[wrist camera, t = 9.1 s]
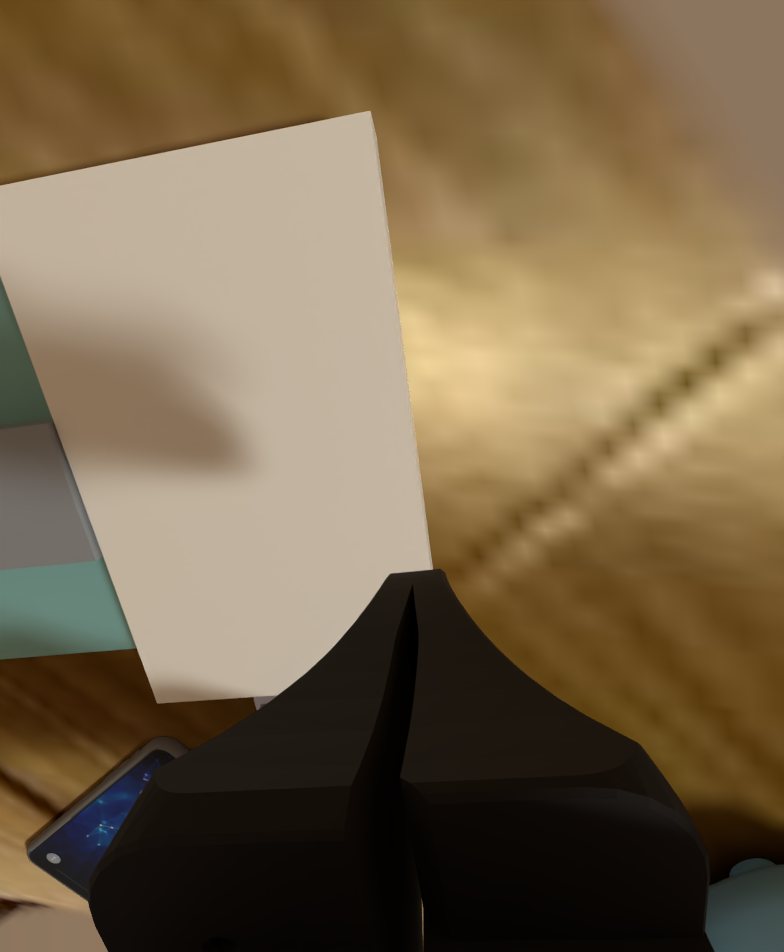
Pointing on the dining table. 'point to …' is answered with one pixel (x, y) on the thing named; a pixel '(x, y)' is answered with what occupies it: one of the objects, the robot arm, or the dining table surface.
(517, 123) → the dining table surface
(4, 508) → the grey bevelled tile
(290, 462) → the white flat board
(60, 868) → the smartphone
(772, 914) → the decorative pot
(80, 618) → the mat
